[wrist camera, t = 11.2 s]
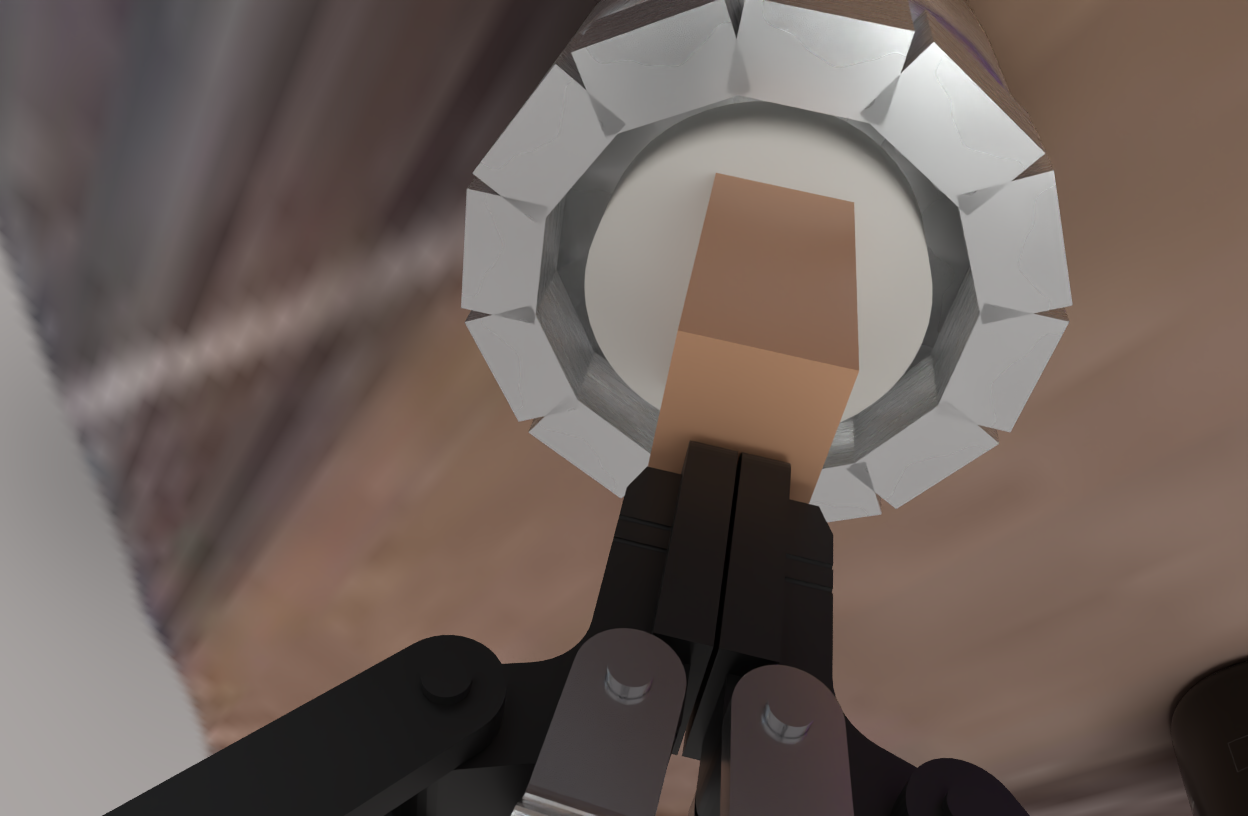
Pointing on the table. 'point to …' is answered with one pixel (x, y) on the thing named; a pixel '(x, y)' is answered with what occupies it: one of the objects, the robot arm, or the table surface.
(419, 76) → the table surface
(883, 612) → the table surface
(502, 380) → the glass candle holder
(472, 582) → the table surface
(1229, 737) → the supplement bottle
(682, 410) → the knob lid with grip
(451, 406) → the table surface
